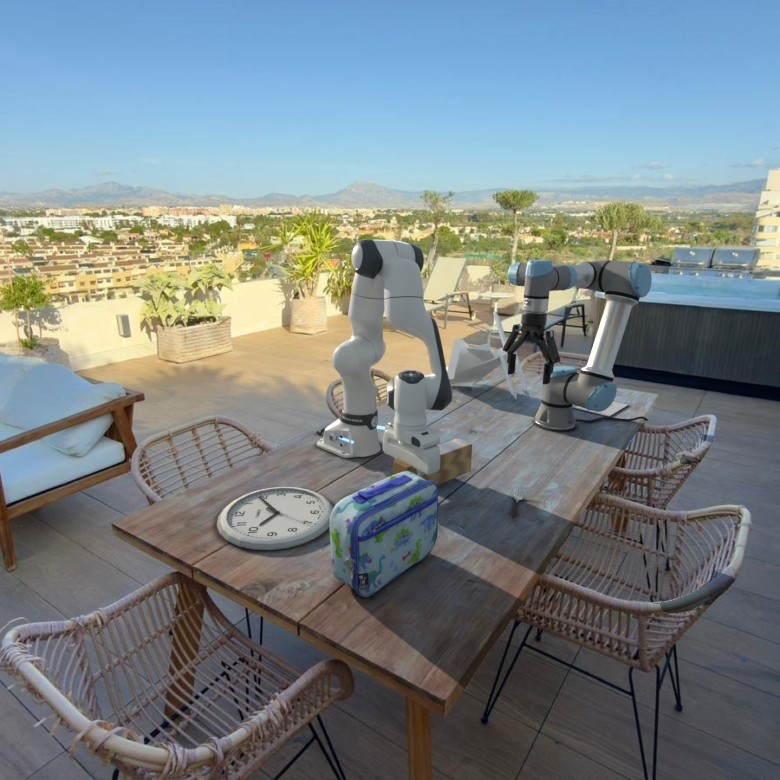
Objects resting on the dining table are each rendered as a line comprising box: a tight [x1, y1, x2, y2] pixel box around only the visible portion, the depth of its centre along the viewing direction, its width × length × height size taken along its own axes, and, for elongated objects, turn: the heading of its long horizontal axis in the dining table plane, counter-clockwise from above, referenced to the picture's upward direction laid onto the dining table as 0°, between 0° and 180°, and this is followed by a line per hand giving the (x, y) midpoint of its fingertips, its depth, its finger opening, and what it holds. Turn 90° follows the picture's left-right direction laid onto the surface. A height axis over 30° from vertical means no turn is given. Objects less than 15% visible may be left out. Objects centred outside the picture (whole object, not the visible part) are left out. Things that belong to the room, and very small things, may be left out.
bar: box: [392, 437, 473, 486], centre depth 150 cm, size 26×6×9 cm, turn 129°
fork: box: [511, 486, 525, 519], centre depth 144 cm, size 3×16×2 cm, turn 160°
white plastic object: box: [446, 310, 531, 400], centre depth 245 cm, size 37×45×31 cm
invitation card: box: [573, 400, 629, 417], centre depth 226 cm, size 21×1×15 cm
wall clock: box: [216, 486, 334, 551], centre depth 136 cm, size 30×2×30 cm
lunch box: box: [329, 471, 439, 598], centre depth 113 cm, size 26×11×21 cm, turn 134°
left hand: (409, 477), depth 145 cm, fingers closed on bar, 6 cm apart
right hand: (527, 378), depth 166 cm, fingers open, 13 cm apart
